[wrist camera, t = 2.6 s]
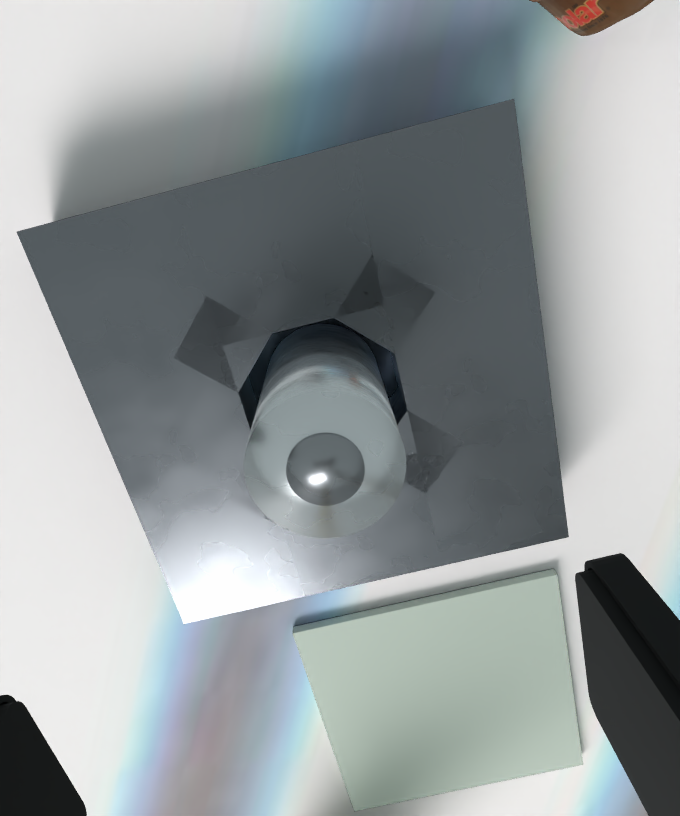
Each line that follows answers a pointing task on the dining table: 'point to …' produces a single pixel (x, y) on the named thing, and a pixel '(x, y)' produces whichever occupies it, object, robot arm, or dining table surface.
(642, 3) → the tin
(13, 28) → the dining table surface
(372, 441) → the aluminium plug
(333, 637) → the sage mat
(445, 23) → the dining table surface
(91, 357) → the plate
